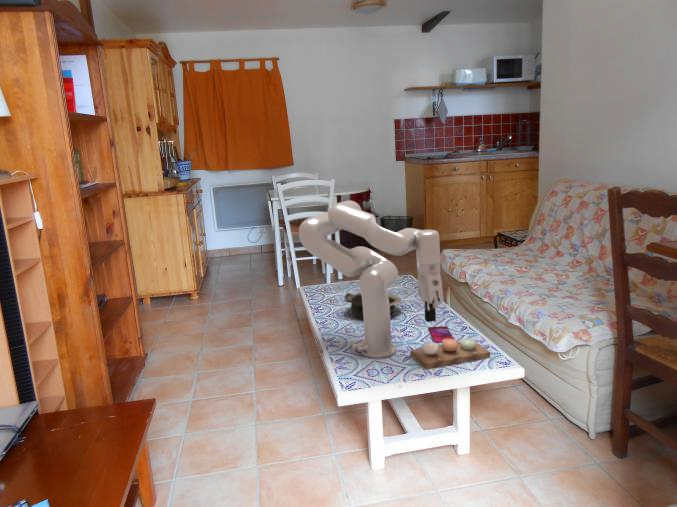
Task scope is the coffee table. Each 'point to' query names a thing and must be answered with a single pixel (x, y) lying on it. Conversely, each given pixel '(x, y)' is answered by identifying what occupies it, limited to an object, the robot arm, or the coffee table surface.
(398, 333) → the coffee table surface
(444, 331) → the smartphone
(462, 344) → the sage button
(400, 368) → the coffee table surface
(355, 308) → the stone bowl
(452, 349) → the terracotta button
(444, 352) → the button board
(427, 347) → the off-white button
